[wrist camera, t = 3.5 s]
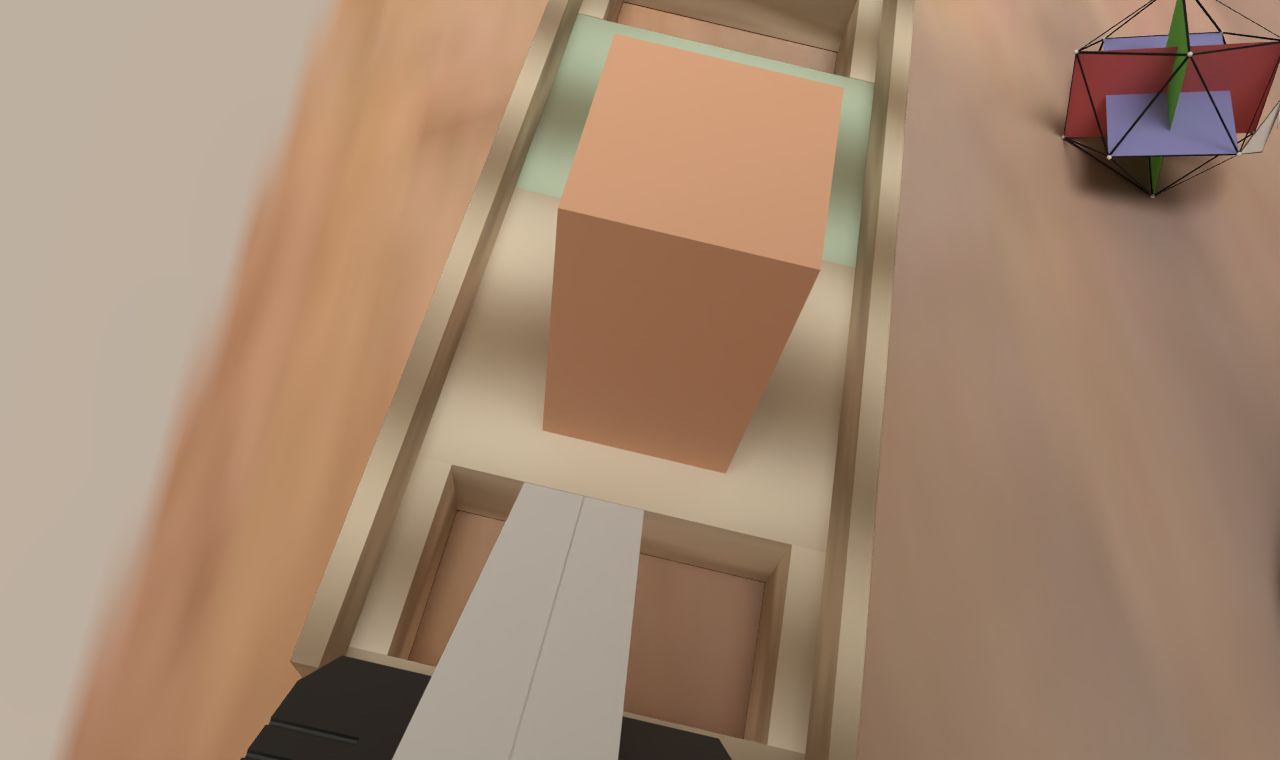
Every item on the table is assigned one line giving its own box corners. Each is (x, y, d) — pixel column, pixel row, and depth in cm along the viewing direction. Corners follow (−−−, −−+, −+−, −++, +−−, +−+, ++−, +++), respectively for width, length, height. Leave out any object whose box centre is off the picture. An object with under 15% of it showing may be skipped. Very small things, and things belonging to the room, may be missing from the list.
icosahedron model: (1015, 141, 35) (1260, 31, 29) (1019, 22, 38) (1238, -95, 33) (1104, 253, 38) (1338, 174, 33) (1100, 135, 42) (1311, 46, 36)
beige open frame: (592, -23, 40) (603, -140, 35) (874, 44, 40) (919, -65, 35) (328, 711, 24) (289, 661, 20) (792, 820, 24) (854, 794, 20)
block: (585, 283, 28) (614, 33, 20) (751, 322, 28) (844, 87, 20) (542, 430, 25) (557, 208, 18) (725, 474, 25) (820, 269, 18)
